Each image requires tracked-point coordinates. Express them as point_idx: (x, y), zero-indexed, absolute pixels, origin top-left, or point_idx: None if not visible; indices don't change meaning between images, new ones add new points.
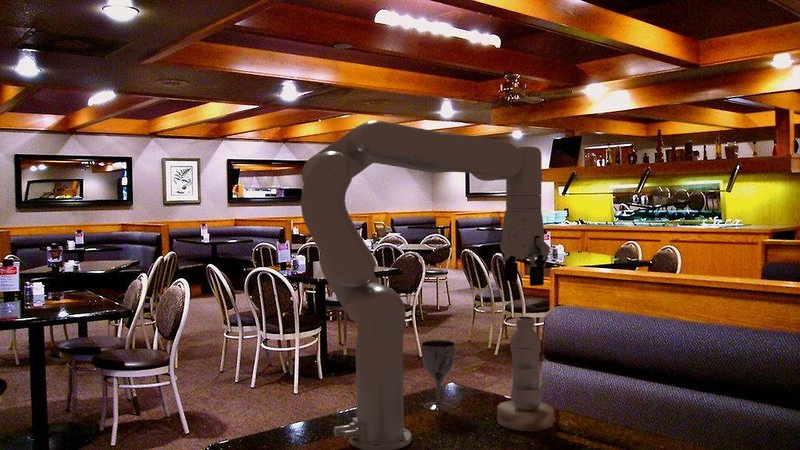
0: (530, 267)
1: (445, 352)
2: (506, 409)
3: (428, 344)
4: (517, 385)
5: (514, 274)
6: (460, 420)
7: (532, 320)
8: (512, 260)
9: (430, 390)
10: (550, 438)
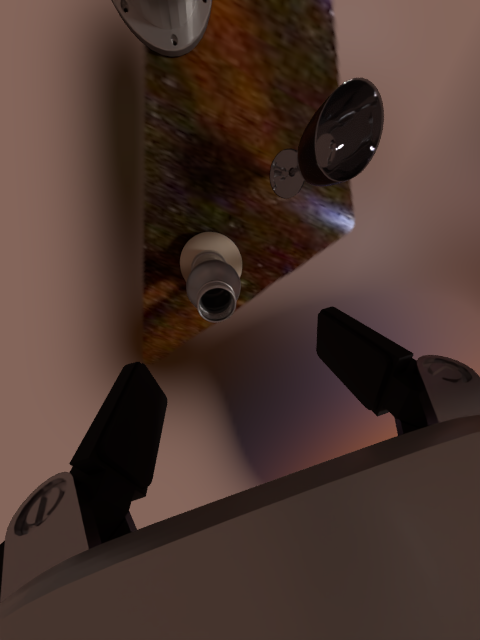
0: (82, 455)
1: (309, 145)
2: (211, 242)
3: (375, 124)
4: (201, 257)
5: (331, 357)
6: (230, 185)
7: (200, 314)
8: (399, 408)
9: (348, 188)
10: (158, 270)
